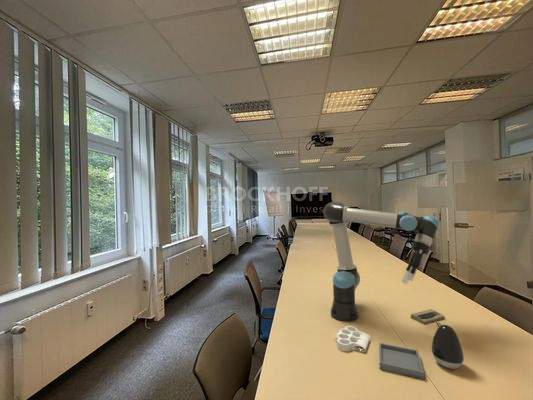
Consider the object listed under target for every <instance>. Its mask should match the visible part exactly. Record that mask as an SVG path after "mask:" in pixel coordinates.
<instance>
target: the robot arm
mask: <svg viewBox="0 0 533 400" xmlns="http://www.w3.org/2000/svg"><path fill="white" fill-rule="evenodd" d="M322 212H323V216H324V218H325V219H326V220H327V221H328V223H329V225H330V226H331V228H332V232H333V238H334V243H335V251H336V255H337V260H338V261H337V262H338V266H337V267H336V270H337V272H335V273H334V274H333V276H332V292H333V293H332V295H333V302H332V305H331V308H330V316H331V317H332V318H333V319H335V320H337V321H340V322H347V323H349V322H350V323H351V322H352V323H353V322H355V321H357V320H359V318H360V316H359V310H358V308H357V304H356V290H357V287H358V286H359V284H360V282H361V276H360V273H359V272H358V268H357V265H355V264H354V260H353V255H352V250H351V245H350V237H349V231H348V224H349V223H351V222H352V223H358V224H365V225H370V226H371V225H372V226H379V227H385V228H392V229H399V230H404V231H407V232H411V231H414V232H417V233H416V234H415V235H416V236H415V238H414V240H413V242H412V245H411V250H413V253H412V255H411V258H410V261H409V263H408V265H407V266H406V269H405V272H404V275H403V277H402V280H401V282H402V283H403V284H406V285H407V284H408V282H409V281H411V282H413V281H414V278H415V276H416V273H417V271H418V268H419V267H420V265H421V261H422V258H423V256H424V255H427V254H428V253H429V251H430V247H431V246H432V245H433V244H434V242H433V240H434V238H435V236H436V234H437V231H438V227H439V225H440V221H439V219H437V218H436V217H434V216H429V215H426V216H424V217H423V218H421V217H419V216H416V215H414V214H410V213H409V212H406V211H399V212H398V213H395V212H386V211H385V212H384V211H377V210H368V209H360V208H352V207H348V206H347V205H345V204H344V203H343V202H340V201H335V202H332V201H331V202H328V203H327V204H325V206H324V207H323V211H322Z"/></svg>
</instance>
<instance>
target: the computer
mask: <svg viewBox="0 0 533 400" xmlns="http://www.w3.org/2000/svg"><path fill="white" fill-rule="evenodd" d="M410 319H411V320H414V321H415V322H418V323H419V324H421V325H422V324H423V325H428V324H431V323H434V322H435V323H436V322H437V321H438V322H439V321H442V320H445V315H444V314H442V313H440V312H438V311H436V310H435V309H432V308H430V309H425V310H421V311H418V312H414V313H412V314H411V313H410Z"/></svg>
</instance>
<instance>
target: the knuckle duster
mask: <svg viewBox="0 0 533 400" xmlns="http://www.w3.org/2000/svg"><path fill="white" fill-rule="evenodd" d="M333 339H334V340H336V347H337V349H338V350H339V349H340V350H339V351H340V352H344V351H349V352H351V351H356V350H357V351H356V352H359V353H365V352H367V347H368V346H369V343H370V340H371V336H370V335H369V334H368V333H365V332H362V331H359V330H358V328H357V327H355V326H352V325H346V326H345V327H344V328H341V329H340V330H338V331H337V334H336V336H335V337H333ZM360 346H361V348H364V349H363V350H361V351H360V349H359V348H360ZM350 350H351V351H350Z"/></svg>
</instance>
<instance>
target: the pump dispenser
mask: <svg viewBox="0 0 533 400" xmlns="http://www.w3.org/2000/svg"><path fill="white" fill-rule="evenodd" d="M435 323H436V326H437V329H436V330H435V332H434V335H433V338H432V344H431V353H432V355H433V358H434V360H435V361H436V362H437V363H438V364H439V365H440V366H442V367H444V368H447V369H452V370H455V369H459V368H460V367H461V366H462V364H463V362H464V360H465V357H464V352H463V348H462V344H461V340H460V338H459V336H458V334H457V332H456V330H455V329H454V328H453V327H452V326H450V325H449V324H441V323H440V322H439V321H435Z"/></svg>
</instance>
